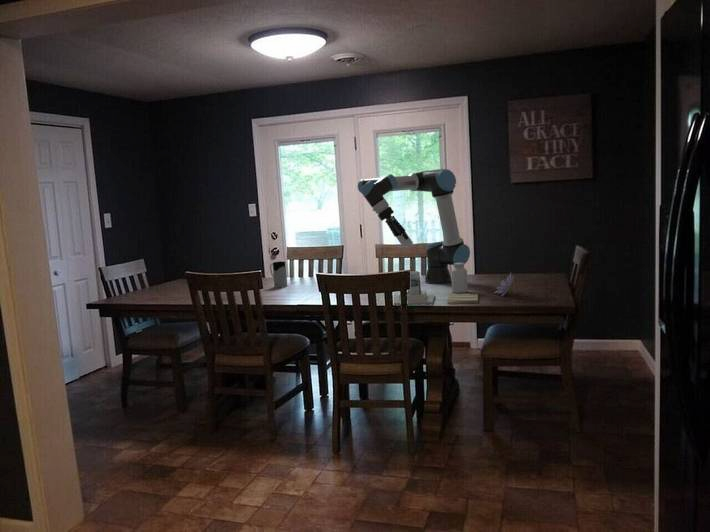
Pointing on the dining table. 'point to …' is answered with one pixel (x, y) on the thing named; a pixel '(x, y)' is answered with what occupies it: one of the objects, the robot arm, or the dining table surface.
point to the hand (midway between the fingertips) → (408, 245)
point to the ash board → (462, 298)
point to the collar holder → (416, 298)
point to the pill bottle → (459, 278)
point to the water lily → (505, 285)
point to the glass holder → (279, 274)
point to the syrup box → (414, 283)
